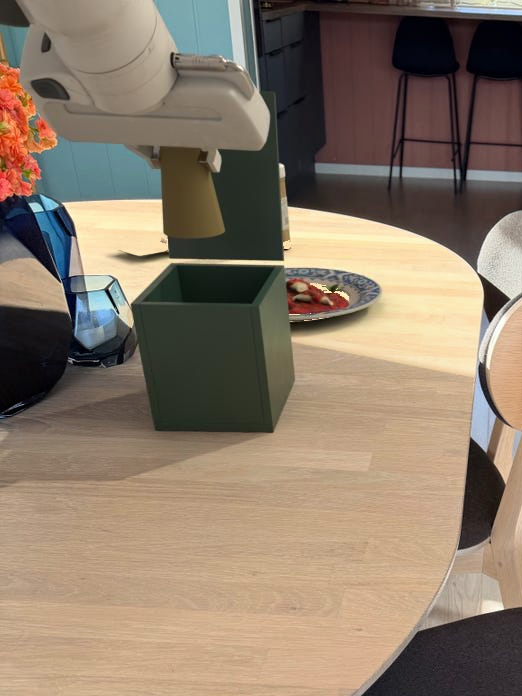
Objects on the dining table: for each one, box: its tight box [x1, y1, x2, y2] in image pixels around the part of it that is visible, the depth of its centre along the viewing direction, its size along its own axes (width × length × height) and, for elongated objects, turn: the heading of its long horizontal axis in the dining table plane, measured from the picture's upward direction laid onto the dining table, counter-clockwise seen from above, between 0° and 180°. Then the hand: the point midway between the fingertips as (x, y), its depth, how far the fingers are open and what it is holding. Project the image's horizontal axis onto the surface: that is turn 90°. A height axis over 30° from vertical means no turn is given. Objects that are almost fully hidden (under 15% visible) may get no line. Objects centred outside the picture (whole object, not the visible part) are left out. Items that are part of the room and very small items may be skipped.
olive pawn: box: [160, 146, 225, 239], centre depth 90 cm, size 6×6×11 cm
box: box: [129, 262, 296, 433], centre depth 103 cm, size 16×13×13 cm
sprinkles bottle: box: [279, 162, 291, 242], centre depth 161 cm, size 5×5×13 cm
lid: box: [166, 91, 285, 262], centre depth 102 cm, size 17×13×1 cm
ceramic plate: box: [284, 267, 383, 321], centre depth 137 cm, size 26×26×3 cm
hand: (187, 164), depth 91 cm, fingers closed on olive pawn, 4 cm apart
